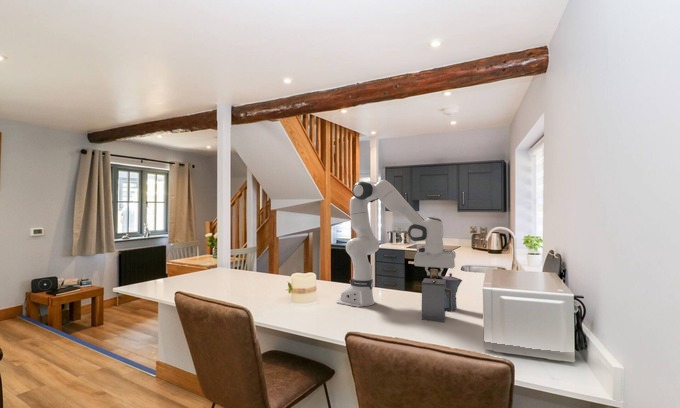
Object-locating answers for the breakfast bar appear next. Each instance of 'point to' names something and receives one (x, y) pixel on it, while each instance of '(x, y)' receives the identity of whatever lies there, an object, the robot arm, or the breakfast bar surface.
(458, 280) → the moka pot
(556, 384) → the breakfast bar surface
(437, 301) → the tall grey box
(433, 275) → the plunger
